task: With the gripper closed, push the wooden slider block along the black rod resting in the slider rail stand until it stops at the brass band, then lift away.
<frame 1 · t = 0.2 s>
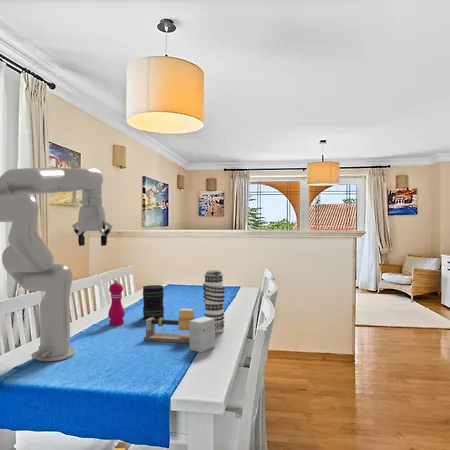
hand: (92, 245, 161), 37 cm above the table, tool pointing down, fingers open, 9 cm apart
storage jar: (153, 318, 192), on the table
decorative candle: (214, 330, 170), on the table
slider rail stand: (174, 339, 156), on the table
wooden slider block: (186, 319, 155), point 8 cm above the table, slide at 0.0 cm
small box: (202, 349, 145), on the table
pepper mill: (116, 324, 181), on the table
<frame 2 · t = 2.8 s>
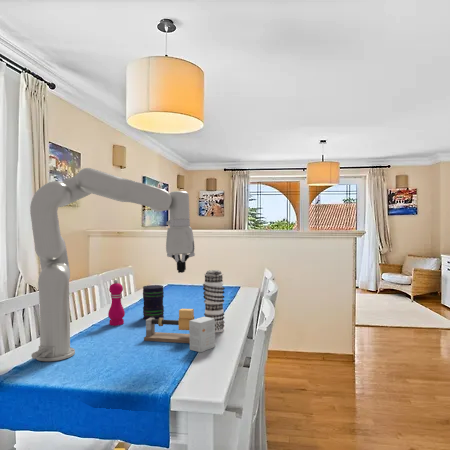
hand: (181, 272, 152), 27 cm above the table, tool pointing down, fingers closed
nothing on the table moved.
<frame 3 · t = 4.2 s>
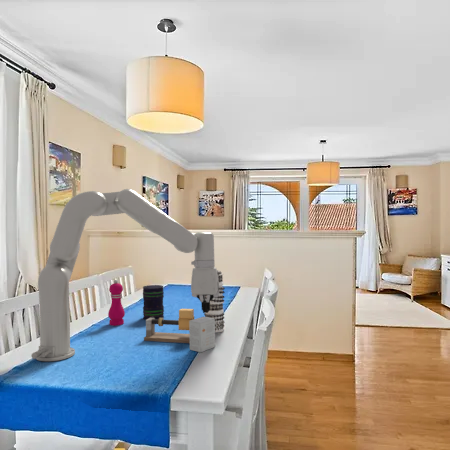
hand: (206, 312, 154), 11 cm above the table, tool pointing down, fingers closed
nothing on the table moved.
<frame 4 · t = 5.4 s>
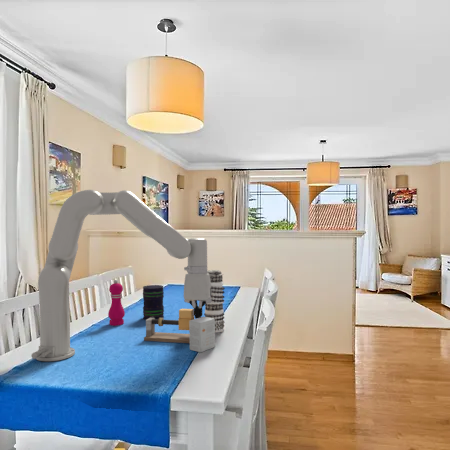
hand: (198, 317, 154), 9 cm above the table, tool pointing down, fingers closed
wooden slider block: (186, 319, 155), point 8 cm above the table, slide at 0.0 cm, touching gripper
everything else where it was.
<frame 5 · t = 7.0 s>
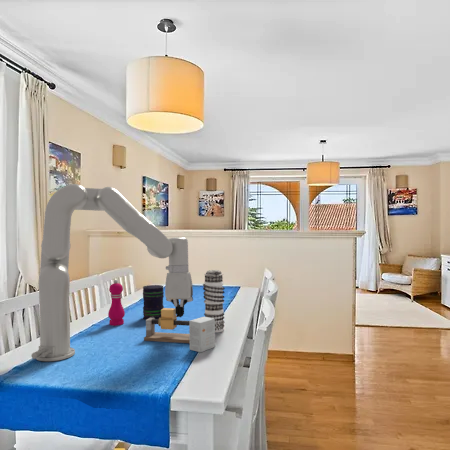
hand: (179, 316, 156), 9 cm above the table, tool pointing down, fingers closed
wooden slider block: (168, 318, 157), point 8 cm above the table, slide at 7.3 cm, touching gripper
everything else where it was.
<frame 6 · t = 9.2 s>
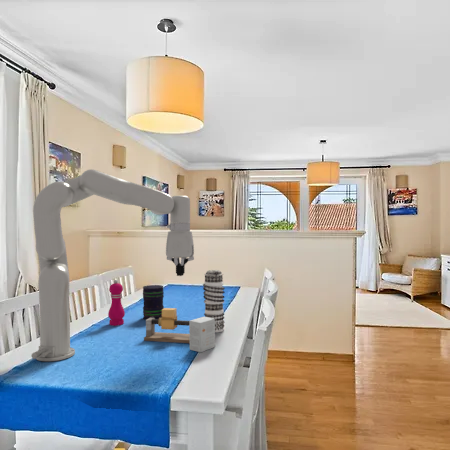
hand: (180, 275, 155), 25 cm above the table, tool pointing down, fingers closed
wooden slider block: (169, 318, 157), point 8 cm above the table, slide at 7.0 cm
everything else where it was.
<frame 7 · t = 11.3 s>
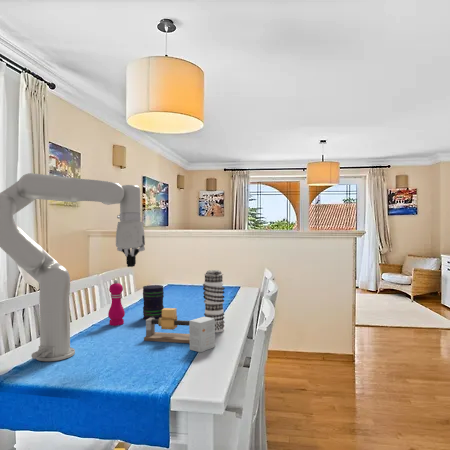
hand: (131, 266, 152), 29 cm above the table, tool pointing down, fingers closed
nothing on the table moved.
at the end: wooden slider block slide at 7.0 cm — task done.
